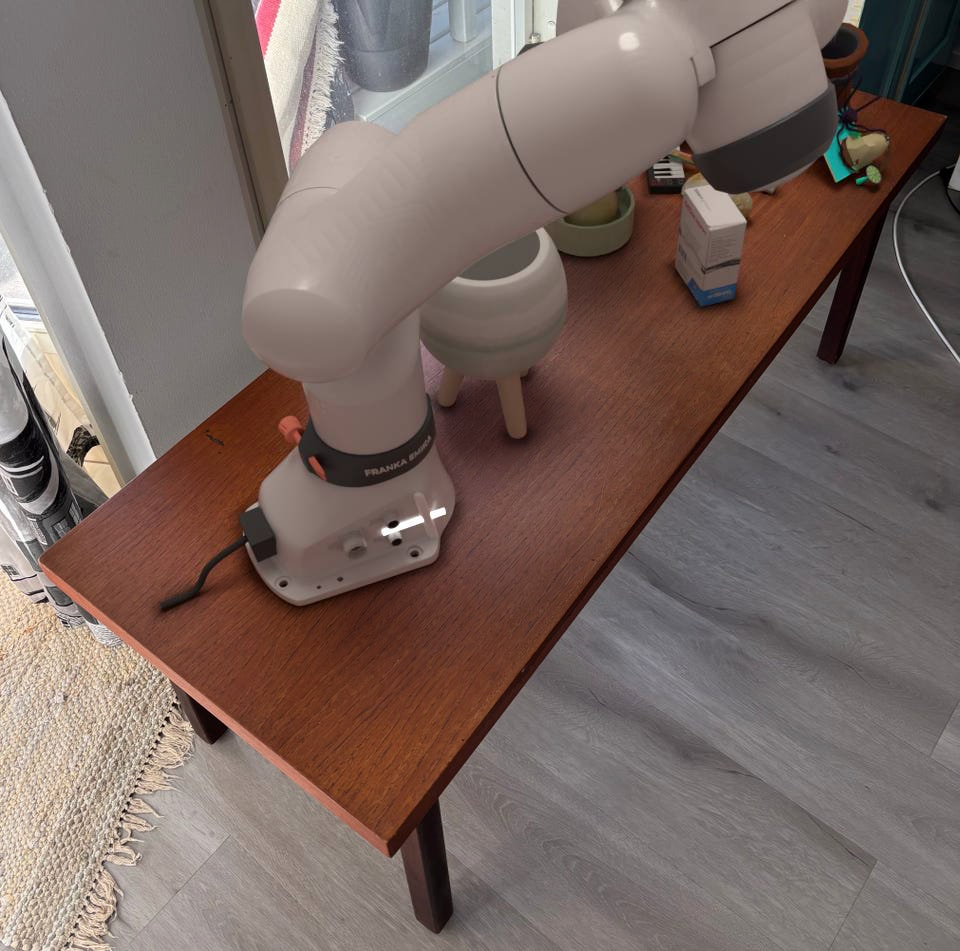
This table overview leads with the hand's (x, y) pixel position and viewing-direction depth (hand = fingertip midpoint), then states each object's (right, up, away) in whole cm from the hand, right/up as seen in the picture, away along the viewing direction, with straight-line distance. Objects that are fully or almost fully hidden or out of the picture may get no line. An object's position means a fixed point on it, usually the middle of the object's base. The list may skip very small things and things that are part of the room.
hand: (587, 201), depth 128 cm
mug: (+32, +12, +14) cm, 37 cm away
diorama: (+36, +11, +8) cm, 39 cm away
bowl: (0, -3, +4) cm, 5 cm away
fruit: (0, -3, +3) cm, 4 cm away
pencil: (+11, +11, +11) cm, 19 cm away
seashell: (+18, 0, +5) cm, 18 cm away
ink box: (+14, -12, -4) cm, 19 cm away
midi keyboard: (+15, +11, +13) cm, 22 cm away
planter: (-12, -28, -15) cm, 34 cm away
